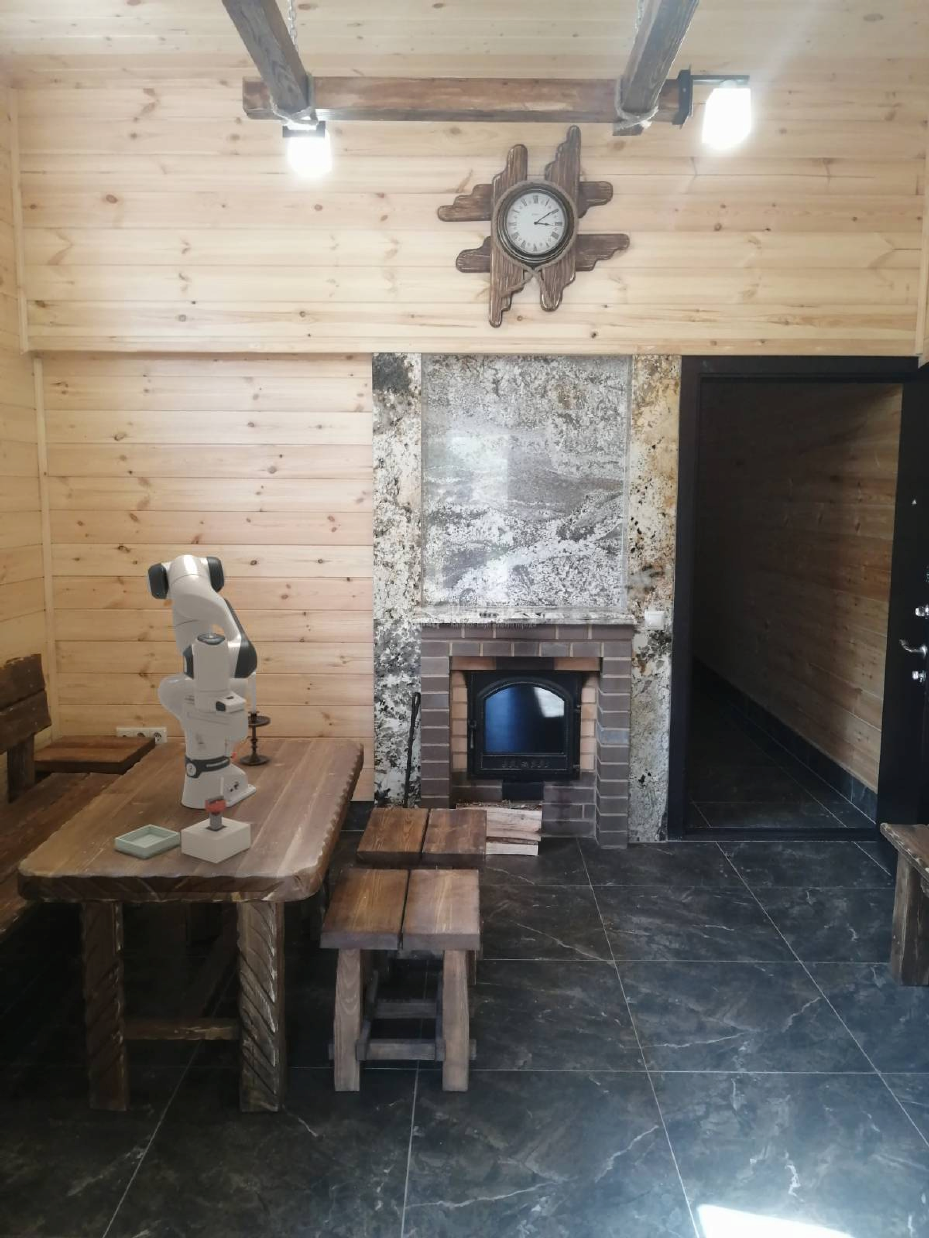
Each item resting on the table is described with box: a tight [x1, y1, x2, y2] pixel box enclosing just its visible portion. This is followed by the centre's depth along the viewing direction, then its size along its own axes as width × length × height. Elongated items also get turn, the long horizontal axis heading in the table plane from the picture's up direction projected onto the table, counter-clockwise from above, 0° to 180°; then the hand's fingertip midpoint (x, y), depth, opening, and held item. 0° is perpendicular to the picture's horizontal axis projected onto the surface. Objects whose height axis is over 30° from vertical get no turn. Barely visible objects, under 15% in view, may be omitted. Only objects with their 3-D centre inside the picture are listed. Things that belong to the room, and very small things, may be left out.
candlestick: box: [240, 671, 271, 767], centre depth 296 cm, size 11×11×35 cm
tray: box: [114, 824, 181, 860], centre depth 228 cm, size 11×11×3 cm
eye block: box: [180, 816, 252, 865], centre depth 227 cm, size 12×12×6 cm
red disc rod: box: [204, 795, 227, 832], centre depth 226 cm, size 5×5×14 cm
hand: (214, 752), depth 223 cm, fingers open, 8 cm apart
